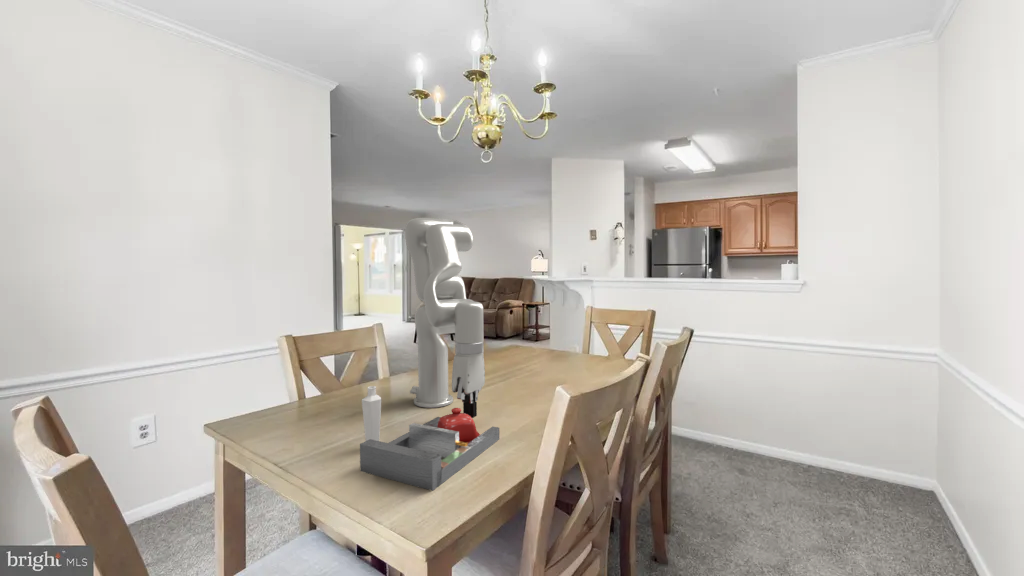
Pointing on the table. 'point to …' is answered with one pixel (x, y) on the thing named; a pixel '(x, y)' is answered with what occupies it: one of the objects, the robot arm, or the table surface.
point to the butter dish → (459, 425)
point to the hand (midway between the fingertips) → (470, 416)
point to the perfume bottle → (372, 414)
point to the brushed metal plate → (434, 439)
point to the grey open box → (420, 459)
